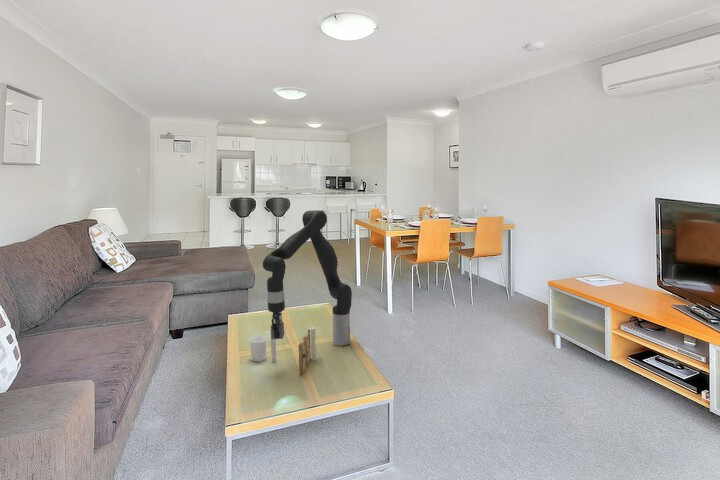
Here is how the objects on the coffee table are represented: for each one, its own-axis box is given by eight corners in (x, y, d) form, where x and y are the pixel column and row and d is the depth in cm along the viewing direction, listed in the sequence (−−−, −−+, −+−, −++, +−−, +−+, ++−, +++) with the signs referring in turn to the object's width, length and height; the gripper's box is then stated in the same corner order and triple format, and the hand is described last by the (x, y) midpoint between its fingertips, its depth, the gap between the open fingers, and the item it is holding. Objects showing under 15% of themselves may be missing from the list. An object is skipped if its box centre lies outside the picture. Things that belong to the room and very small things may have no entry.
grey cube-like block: (284, 334, 172) (283, 322, 171) (282, 338, 167) (281, 326, 166) (273, 334, 171) (272, 322, 170) (271, 339, 166) (270, 326, 165)
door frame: (315, 358, 182) (315, 327, 180) (315, 359, 180) (314, 328, 178) (272, 359, 181) (271, 328, 178) (271, 361, 179) (270, 330, 176)
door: (308, 358, 182) (308, 329, 179) (313, 359, 181) (313, 329, 179) (299, 375, 166) (298, 343, 164) (304, 375, 166) (303, 343, 163)
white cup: (258, 363, 176) (257, 344, 175) (247, 359, 181) (246, 340, 179) (270, 357, 183) (269, 338, 182) (259, 353, 187) (258, 335, 186)
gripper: (282, 304, 159) (284, 341, 162) (286, 294, 173) (288, 328, 176) (264, 305, 159) (266, 342, 162) (270, 295, 173) (272, 329, 176)
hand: (278, 335), depth 169 cm, fingers closed on grey cube-like block, 5 cm apart
